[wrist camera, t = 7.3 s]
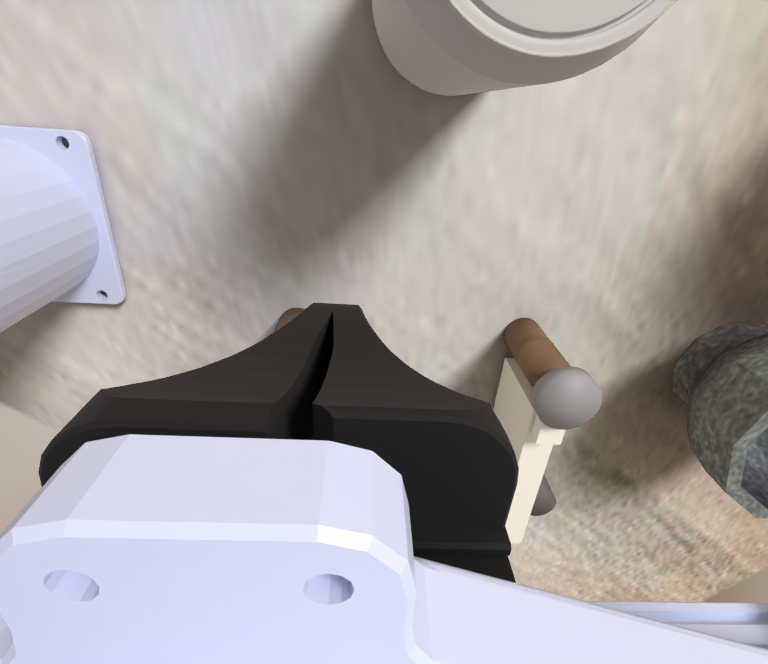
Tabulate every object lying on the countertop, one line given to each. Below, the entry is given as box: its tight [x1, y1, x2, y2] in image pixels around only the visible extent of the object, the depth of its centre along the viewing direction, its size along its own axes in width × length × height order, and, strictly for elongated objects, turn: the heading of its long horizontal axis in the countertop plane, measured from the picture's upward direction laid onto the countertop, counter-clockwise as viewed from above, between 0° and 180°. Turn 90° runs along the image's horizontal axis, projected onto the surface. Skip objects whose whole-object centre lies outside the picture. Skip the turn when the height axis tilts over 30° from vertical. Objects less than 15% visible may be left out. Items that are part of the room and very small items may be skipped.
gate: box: [493, 358, 603, 543], centre depth 23 cm, size 12×3×6 cm, turn 176°
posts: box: [275, 308, 570, 516], centre depth 23 cm, size 16×12×6 cm
